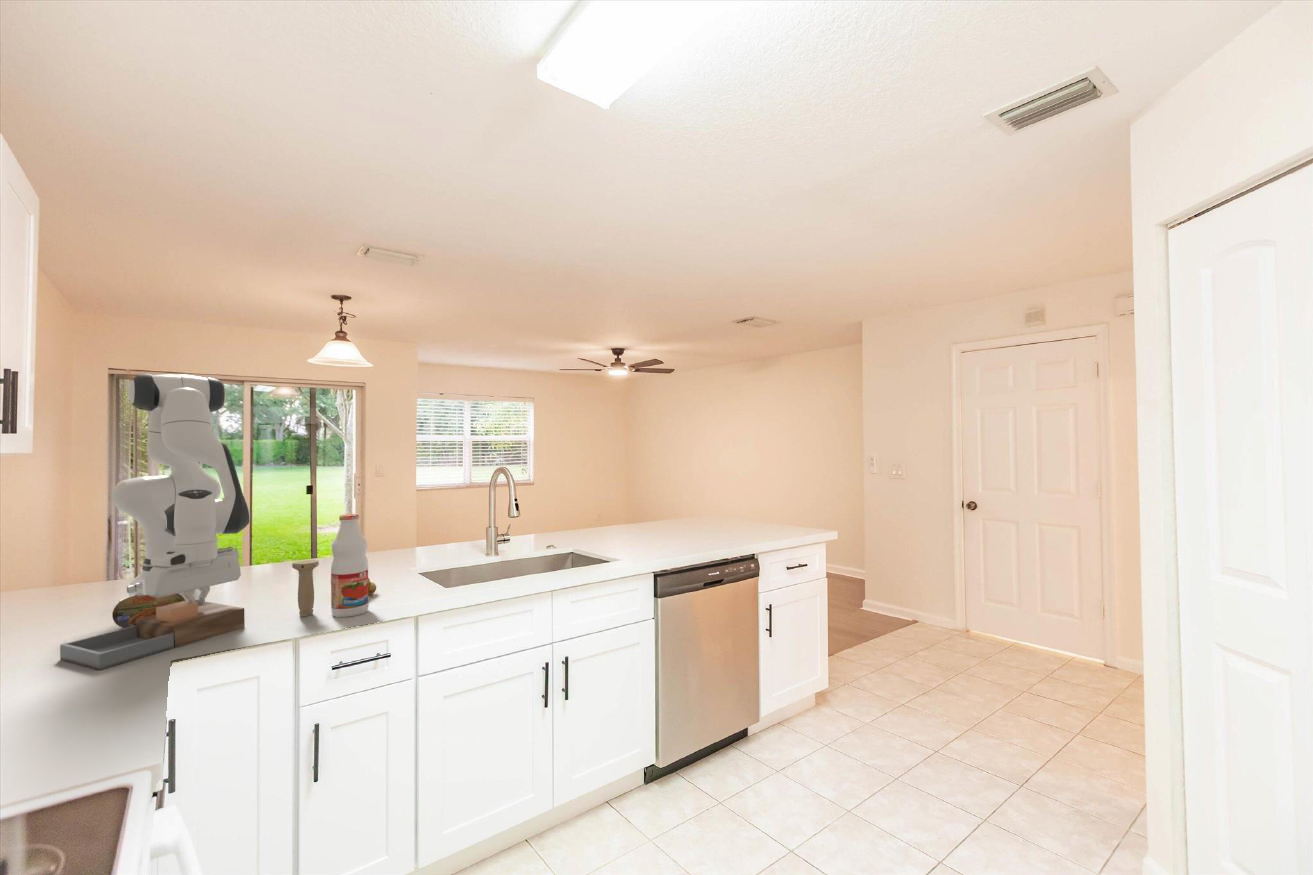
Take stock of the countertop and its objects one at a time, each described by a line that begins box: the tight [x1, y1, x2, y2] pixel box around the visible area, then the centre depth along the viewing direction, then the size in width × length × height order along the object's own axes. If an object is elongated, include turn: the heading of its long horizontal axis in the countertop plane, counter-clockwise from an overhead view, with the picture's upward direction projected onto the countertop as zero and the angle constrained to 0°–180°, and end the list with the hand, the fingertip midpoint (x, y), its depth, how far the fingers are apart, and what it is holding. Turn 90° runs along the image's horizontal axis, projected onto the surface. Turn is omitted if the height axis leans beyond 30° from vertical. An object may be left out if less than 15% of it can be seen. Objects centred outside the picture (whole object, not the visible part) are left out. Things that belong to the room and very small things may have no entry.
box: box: [59, 626, 175, 671], centre depth 135 cm, size 16×14×4 cm
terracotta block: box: [156, 601, 198, 622], centre depth 146 cm, size 6×6×3 cm
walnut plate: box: [136, 601, 245, 648], centre depth 149 cm, size 16×16×5 cm
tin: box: [111, 594, 185, 629], centre depth 156 cm, size 15×3×8 cm, turn 117°
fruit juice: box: [330, 513, 370, 618], centre depth 165 cm, size 9×9×28 cm
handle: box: [291, 559, 320, 617], centre depth 163 cm, size 5×6×15 cm
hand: (197, 605), depth 150 cm, fingers closed
